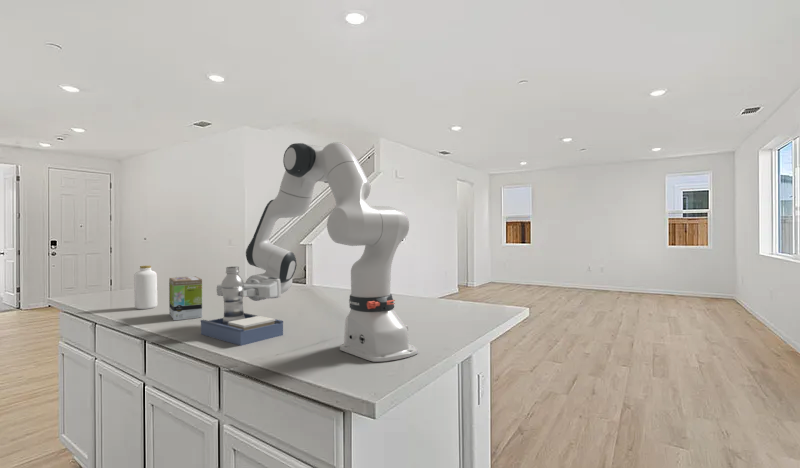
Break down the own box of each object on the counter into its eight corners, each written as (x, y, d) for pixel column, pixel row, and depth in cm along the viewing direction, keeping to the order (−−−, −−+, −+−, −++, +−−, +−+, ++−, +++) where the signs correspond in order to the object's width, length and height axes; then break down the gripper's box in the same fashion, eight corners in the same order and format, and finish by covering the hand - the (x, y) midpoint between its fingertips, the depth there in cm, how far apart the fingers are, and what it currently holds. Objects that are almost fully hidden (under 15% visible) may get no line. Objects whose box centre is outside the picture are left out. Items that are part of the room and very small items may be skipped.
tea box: (203, 317, 157) (202, 278, 156) (173, 321, 151) (172, 280, 151) (197, 311, 169) (196, 275, 169) (168, 314, 163) (168, 277, 163)
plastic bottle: (244, 332, 127) (242, 267, 127) (220, 334, 126) (218, 268, 126) (247, 327, 134) (245, 265, 133) (224, 329, 132) (222, 266, 132)
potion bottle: (152, 305, 184) (151, 264, 184) (161, 307, 179) (160, 265, 179) (131, 308, 177) (130, 266, 177) (140, 310, 172) (139, 267, 172)
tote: (283, 337, 126) (283, 320, 126) (240, 348, 115) (240, 330, 115) (242, 327, 139) (242, 312, 139) (200, 336, 128) (200, 320, 128)
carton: (275, 335, 125) (275, 319, 125) (244, 343, 117) (243, 325, 117) (259, 331, 130) (259, 315, 130) (228, 338, 122) (227, 321, 122)
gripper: (232, 277, 145) (203, 282, 132) (284, 278, 139) (259, 284, 126) (233, 295, 145) (203, 302, 132) (284, 297, 139) (259, 304, 126)
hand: (231, 293), depth 129 cm, fingers closed on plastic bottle, 6 cm apart
